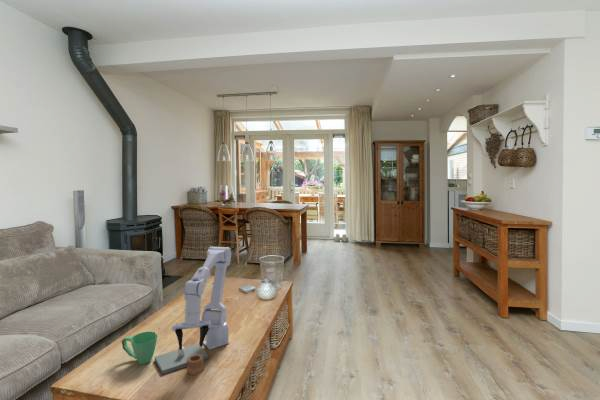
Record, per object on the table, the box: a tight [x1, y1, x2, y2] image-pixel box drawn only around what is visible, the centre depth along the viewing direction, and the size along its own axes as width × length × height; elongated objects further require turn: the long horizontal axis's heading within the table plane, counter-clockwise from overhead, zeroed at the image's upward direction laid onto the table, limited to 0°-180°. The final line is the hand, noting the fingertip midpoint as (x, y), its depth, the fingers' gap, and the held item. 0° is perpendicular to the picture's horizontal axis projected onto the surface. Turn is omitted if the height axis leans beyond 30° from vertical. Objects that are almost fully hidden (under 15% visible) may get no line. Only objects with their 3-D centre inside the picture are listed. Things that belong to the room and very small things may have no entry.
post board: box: [154, 343, 209, 375], centre depth 134 cm, size 18×12×5 cm, turn 127°
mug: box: [121, 331, 158, 365], centre depth 133 cm, size 15×10×10 cm
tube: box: [186, 354, 204, 376], centre depth 126 cm, size 6×6×5 cm
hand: (190, 347), depth 126 cm, fingers open, 7 cm apart
